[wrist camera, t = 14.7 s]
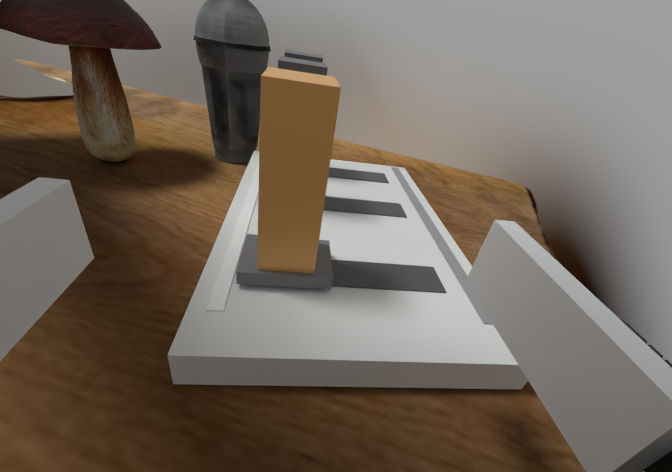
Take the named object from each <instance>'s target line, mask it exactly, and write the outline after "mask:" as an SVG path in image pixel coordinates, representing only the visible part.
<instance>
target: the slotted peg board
mask: <svg viewBox="0 0 672 472" xmlns="http://www.w3.org/2000/svg"><path fill="white" fill-rule="evenodd" d="M322 61H323V58H322V56H321V55H315V54H309V53H303V52H297V51H291V50H286V52H285V57H284V56H282V57H281V58H280V59H279V60H278V68H279V69H286V70H292V71H299V72H305V73H312V74H318V75H325V76H327V66H326V64H325V63H322ZM258 193H259V151H255V150H254V152H253V154H252V157H251V159H250V161H249V164H248V166H247V168H246V171H245V173H244V176H243V178H242V180H241V183H240V185H239V187H238V190H237V192H236V194H235V197H234V199H233V201H232V204H231V206H230V209H229V211H228V213H227V216H226V218H225V220H224V223H223V225H222V227H221V230H220V232H219V234H218V237H217V239H216V242H215V244H214V246H213V249H212V251H211V253H210V256H209V258H208V260H207V263H206V265H205V267H204V270H203V272H202V275H201V277H200V279H199V282H198V284H197V286H196V289H195V291H194V293H193V296H192V298H191V300H190V303H189V305H188V308H187V310H186V312H185V315H184V317H183V319H182V322H181V324H180V326H179V329H178V331H177V333H176V336H175V338H174V341H173V343H172V345H171V348H170V350H169V352H168V355H167V357H168V362H169V366H170V371H171V376H172V381H173V384H190V385H256V386H322V387H388V388H454V389H520V390H521V389H522V388H523V387H524V385H525V384H526V383H527V381H528V379H527V378H526V376H525V375H524V373H523V371H522V370H521V368H520V367H519V365H518V363H517V362H516V360H515V359H514V357H513V355H512V354H511V352H510V351H509V349H508V348H507V346H506V344H505V343H504V341H503V340H502V338H501V336H500V335H499V333H498V332H497V330H496V329H495V327H494V325H493V324H492V322H491V321H490V319H489V317H488V316H487V314H486V313H485V311H484V310H483V308H482V306H481V305H480V303H479V302H478V300H477V298H476V297H475V295H474V294H473V292H472V290H471V289H470V287H469V286H468V284H467V283H466V279H467V277H468V275H469V273H470V271H471V269H472V266H471V264H470V263H469V262H468V260H467V259H466V257H465V256H464V254H463V253H462V251H461V250H460V248H459V247H458V245H457V244H456V243H455V241H454V240H453V238H452V237H451V235H450V234H449V232H448V231H447V229H446V228H445V227H444V225H443V224H442V222H441V221H440V219H439V218H438V216H437V215H436V213H435V212H434V211H433V209H432V208H431V206H430V205H429V203H428V202H427V200H426V199H425V197H424V196H423V195H422V193H421V192H420V190H419V189H418V187H417V186H416V184H415V183H414V181H413V180H412V178H411V177H410V176H409V174H408V173H407V171H406V170H405V168H401V167H392V166H384V165H375V164H367V163H358V162H350V161H341V160H332V159H331V160H330V167H329V174H328V181H327V188H326V195H325V202H324V209H323V216H322V223H321V230H320V237H319V240H328V241H329V242H330V252H331V262H332V271H333V282H332V288H331V290H330V289H313V288H296V287H278V286H261V285H244V284H236V271H237V267H238V264H239V260H240V257H241V254H242V250H243V247H244V243H245V240H246V236H247V234H254V235H258Z"/></svg>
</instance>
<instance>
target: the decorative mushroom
mask: <svg viewBox="0 0 672 472" xmlns="http://www.w3.org/2000/svg"><path fill="white" fill-rule="evenodd" d="M0 29H4V30H8V31H11V32H14V33H17V34H20V35H23V36H26V37H30V38H33V39H37V40H40V41H44V42H49V43H53V44H61V45H69V51H70V58H71V64H72V84H73V93H74V102H75V107H76V112H77V116H78V120H79V126H80V131H81V135H82V138H83V141H84V143H85V146H86V148H87V150H88V151H89V152H90V153H91V154H92V155H93V156H94V157H97V158H99V159H101V160H104V161H110V162H119V161H124V160H126V159H128V158H130V157H131V156H132V155H133V154H134V152H135V146H136V140H135V134H134V129H133V124H132V120H131V116H130V112H129V108H128V104H127V100H126V97H125V94H124V91H123V88H122V85H121V82H120V79H119V76H118V73H117V69H116V66H115V63H114V60H113V57H112V54H111V50H110V48H114V49H133V50H148V49H160V48H161V45H160V44H159V42H158V40H157V38H156V37H155V35H154V33H153V31H152V30H151V29H150V27H149V26H148V25H147V23H146V22H145V21H144V20H143V19H142V18H141V17H140V16H139V14H138V13H137V12H135V11H134V10H133V9H132V8H131V7H130V6H129V5H128V4H127V3H126V2H125V1H124V0H2V1H1V2H0Z"/></svg>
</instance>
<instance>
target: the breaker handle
mask: <svg viewBox="0 0 672 472" xmlns="http://www.w3.org/2000/svg"><path fill="white" fill-rule="evenodd" d="M340 89H341V87H340V85H339V83H338V81H337V80H336V78H335V77H331V76H325V75H318V74H312V73H305V72H299V71H292V70H286V69H279V68H273V67H268V68H267V69H266V70H265V72H264V73H263V74H262V75H261V91H260V142H259V193H258V235H254V234H247V236H246V240H245V243H244V247H243V250H242V254H241V257H240V260H239V264H238V267H237V271H236V284H244V285H261V286H278V287H296V288H313V289H330V290H331V288H332V282H333V271H332V262H331V252H330V242H329V241H328V240H319V237H320V230H321V223H322V216H323V209H324V202H325V195H326V188H327V181H328V174H329V167H330V160H331V153H332V146H333V139H334V132H335V125H336V118H337V111H338V104H339V97H340Z"/></svg>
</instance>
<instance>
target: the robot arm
mask: <svg viewBox="0 0 672 472" xmlns="http://www.w3.org/2000/svg"><path fill="white" fill-rule="evenodd" d="M93 259H94V256H93V253H92V249H91V246H90V243H89V240H88V237H87V234H86V231H85V227H84V224H83V221H82V218H81V215H80V212H79V208H78V205H77V202H76V199H75V196H74V193H73V190H72V186H71V183H70V180H64V179H54V178H43V177H38V178H37V179H35V180H33V181H31V182H30V183H28V184H26V185H24V186H23V187H21V188H19V189H17V190H15V191H14V192H12V193H10V194H8V195H7V196H5V197H3V198H1V199H0V361H1V360H2V359H3V358H4V357H5V356H6V354H7V353H8V352H9V351H10V350H11V349H12V348H13V347H14V346H15V345H16V343H17V342H18V341H19V340H20V339H21V338H22V337H23V336H24V335H25V334H26V332H27V331H28V330H29V329H30V328H31V327H32V326H33V325H34V324H35V323H36V321H37V320H38V319H39V318H40V317H41V316H42V315H43V314H44V313H45V312H46V310H47V309H48V308H49V307H50V306H51V305H52V304H53V303H54V302H55V301H56V299H57V298H58V297H59V296H60V295H61V294H62V293H63V292H64V291H65V290H66V288H67V287H68V286H69V285H70V284H71V283H72V282H73V281H74V280H75V279H76V278H77V276H78V275H79V274H80V273H81V272H82V271H83V270H84V269H85V268H86V267H87V265H88V264H89V263H90V262H91V261H92V260H93ZM466 283H467V284H468V286H469V287H470V289H471V290H472V292H473V294H474V295H475V297H476V298H477V300H478V302H479V303H480V305H481V306H482V308H483V310H484V311H485V313H486V314H487V316H488V317H489V319H490V321H491V322H492V324H493V325H494V327H495V329H496V330H497V332H498V333H499V335H500V336H501V338H502V340H503V341H504V343H505V344H506V346H507V348H508V349H509V351H510V352H511V354H512V355H513V357H514V359H515V360H516V362H517V363H518V365H519V367H520V368H521V370H522V371H523V373H524V375H525V376H526V378H527V379H528V381H529V382H530V384H531V386H532V387H533V389H534V390H535V392H536V394H537V395H538V397H539V398H540V400H541V401H542V403H543V405H544V406H545V408H546V409H547V411H548V413H549V414H550V416H551V417H552V419H553V420H554V422H555V424H556V425H557V427H558V428H559V430H560V432H561V433H562V435H563V436H564V438H565V440H566V441H567V443H568V444H569V446H570V447H571V449H572V451H573V452H574V454H575V455H576V457H577V459H578V460H579V462H580V463H581V465H582V466H583V468H584V470H585V471H586V472H643V471H645V472H672V364H671V363H670V362H669V361H668V360H664V359H663V358H662V357H663V356H662V355H661V354H660V353H659V352H658V351H657V350H656V349H655V348H653V347H652V346H651V345H647V341H646V340H645V339H644V338H643V337H642V336H640V335H639V334H638V333H637V332H636V331H635V330H634V329H633V328H632V327H631V326H630V325H628V324H627V323H626V322H624V321H622V320H621V319H619V318H618V317H617V316H616V315H614V314H613V313H612V312H611V311H610V310H609V309H608V308H607V307H606V306H605V305H604V304H603V303H602V302H601V301H599V300H598V299H597V298H596V297H595V296H594V295H593V294H592V293H591V292H590V291H589V290H588V289H587V288H585V287H584V286H583V285H582V284H581V283H580V282H579V281H578V280H577V279H576V278H575V277H574V276H573V275H571V274H570V273H569V272H568V271H567V270H566V269H565V268H564V267H563V266H562V265H561V264H560V263H559V262H558V261H557V260H555V259H554V258H553V257H552V256H551V255H550V254H549V253H548V252H547V251H546V250H545V249H544V248H543V247H541V246H540V245H539V244H538V243H537V242H536V241H535V240H534V239H533V238H532V237H531V236H530V235H529V234H527V233H526V232H525V231H524V230H523V229H522V228H521V227H520V226H519V225H518V224H517V223H516V222H513V221H502V220H494V222H493V224H492V226H491V228H490V230H489V233H488V235H487V237H486V239H485V241H484V243H483V245H482V247H481V250H480V252H479V254H478V256H477V258H476V260H475V262H474V264H473V267H472V269H471V271H470V273H469V275H468V277H467V279H466Z"/></svg>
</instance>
